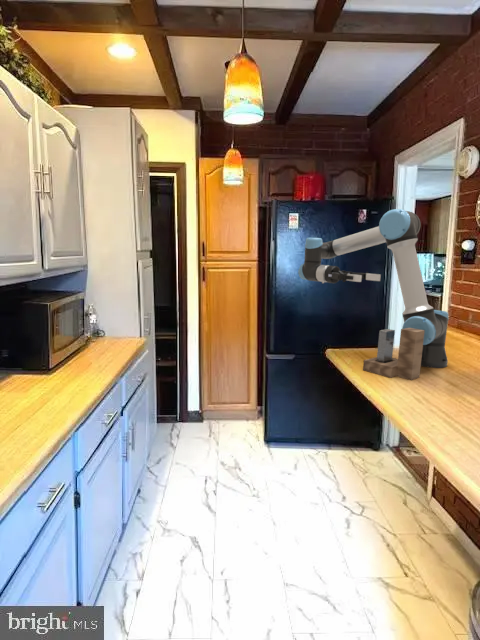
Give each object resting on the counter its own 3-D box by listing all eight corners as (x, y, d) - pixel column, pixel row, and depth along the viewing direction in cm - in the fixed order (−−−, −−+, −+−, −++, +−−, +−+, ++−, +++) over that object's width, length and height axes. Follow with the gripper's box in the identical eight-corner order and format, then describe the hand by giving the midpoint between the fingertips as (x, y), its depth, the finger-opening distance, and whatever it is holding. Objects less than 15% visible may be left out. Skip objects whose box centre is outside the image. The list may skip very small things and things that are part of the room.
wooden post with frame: (362, 370, 172) (367, 324, 169) (382, 364, 181) (386, 321, 178) (405, 382, 158) (411, 333, 155) (424, 375, 167) (429, 329, 164)
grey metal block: (375, 370, 172) (378, 330, 169) (383, 368, 176) (387, 328, 173) (383, 372, 169) (387, 331, 167) (391, 370, 173) (395, 330, 171)
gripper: (345, 281, 203) (386, 286, 187) (309, 283, 187) (351, 288, 171) (346, 265, 202) (388, 268, 186) (310, 265, 185) (353, 269, 170)
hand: (370, 278), depth 178 cm, fingers open, 13 cm apart
